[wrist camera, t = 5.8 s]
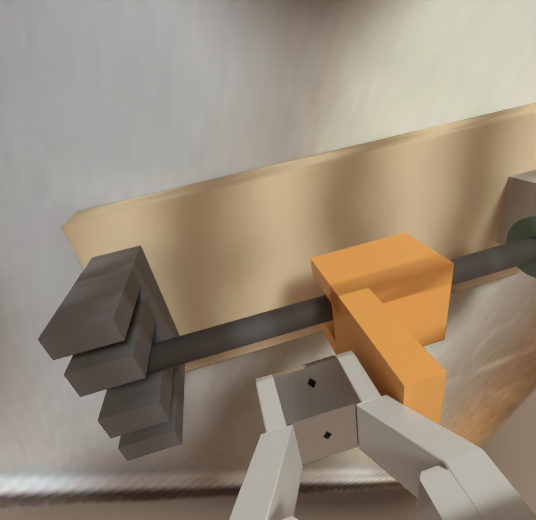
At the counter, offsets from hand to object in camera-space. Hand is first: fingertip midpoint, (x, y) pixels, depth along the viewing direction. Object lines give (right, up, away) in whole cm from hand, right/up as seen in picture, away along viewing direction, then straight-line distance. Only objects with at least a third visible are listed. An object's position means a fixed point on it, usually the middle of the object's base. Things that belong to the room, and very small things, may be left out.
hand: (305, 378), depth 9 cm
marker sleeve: (+3, +3, +4) cm, 5 cm away
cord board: (+3, +5, +8) cm, 10 cm away
